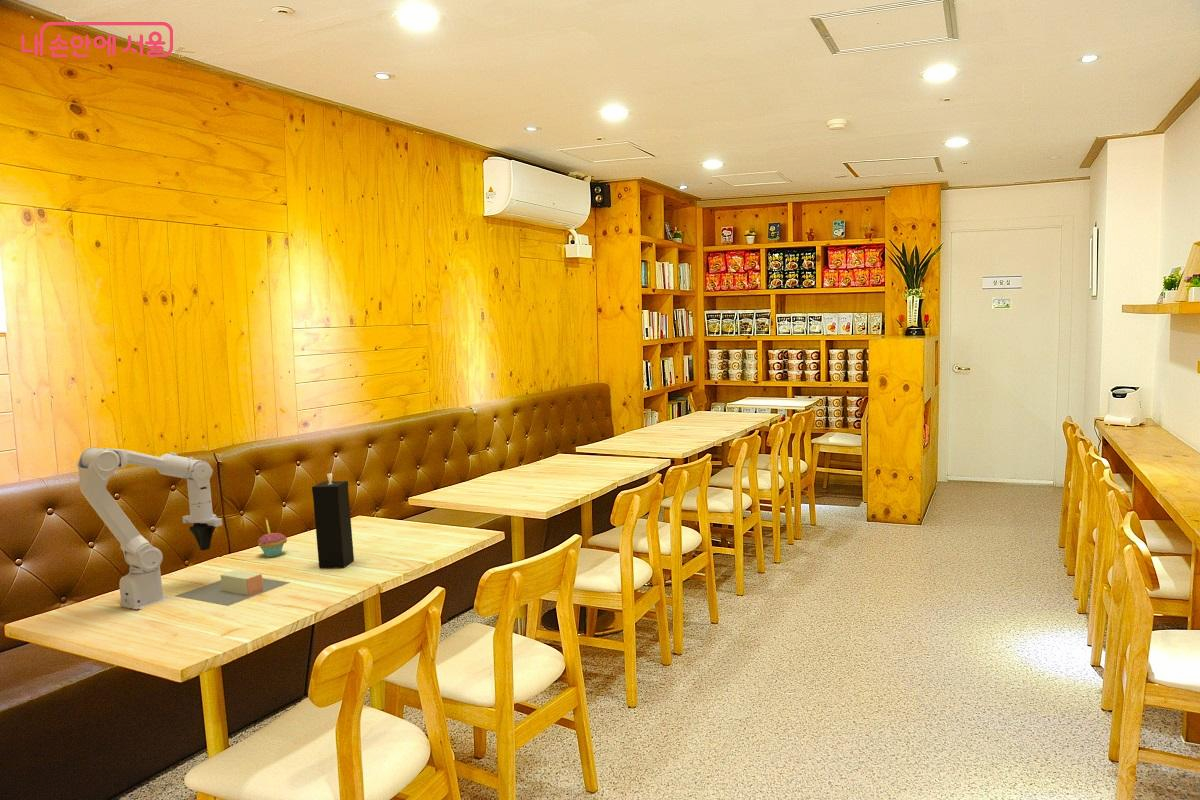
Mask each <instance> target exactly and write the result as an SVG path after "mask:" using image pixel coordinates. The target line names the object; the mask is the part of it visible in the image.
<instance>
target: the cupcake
mask: <svg viewBox="0 0 1200 800" xmlns="http://www.w3.org/2000/svg"><path fill="white" fill-rule="evenodd" d="M265 525H266V529H267V530H266V531H267V533H266V534H263V535H262V536H260V537H259V539H258V540H257V545H258V546H257V547H259V548H260V549H261V551H262V552H263V554H264V557H266V558H273V556H275V557H277V555H278V556H280V555H282V551H283V547H284V545H285V544H286V543H287V541H288V539H287V536H285V534H282V533H281V532H271V530H270V526H269V520H268V519H267V518H265Z"/></svg>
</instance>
